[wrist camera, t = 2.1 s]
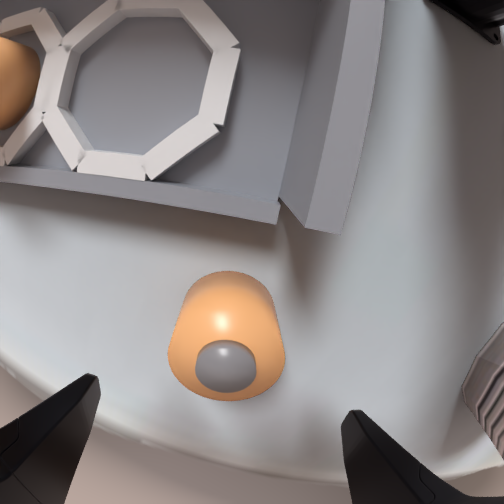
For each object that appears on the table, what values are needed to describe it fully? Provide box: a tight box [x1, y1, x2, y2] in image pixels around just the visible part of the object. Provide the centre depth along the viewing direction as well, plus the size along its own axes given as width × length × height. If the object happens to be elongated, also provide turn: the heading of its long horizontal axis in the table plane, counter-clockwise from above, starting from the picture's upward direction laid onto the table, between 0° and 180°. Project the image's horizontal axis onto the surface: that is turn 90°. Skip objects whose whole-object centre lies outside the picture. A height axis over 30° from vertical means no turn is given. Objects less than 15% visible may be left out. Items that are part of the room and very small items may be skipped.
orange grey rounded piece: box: [168, 271, 285, 401], centre depth 13 cm, size 5×5×5 cm
